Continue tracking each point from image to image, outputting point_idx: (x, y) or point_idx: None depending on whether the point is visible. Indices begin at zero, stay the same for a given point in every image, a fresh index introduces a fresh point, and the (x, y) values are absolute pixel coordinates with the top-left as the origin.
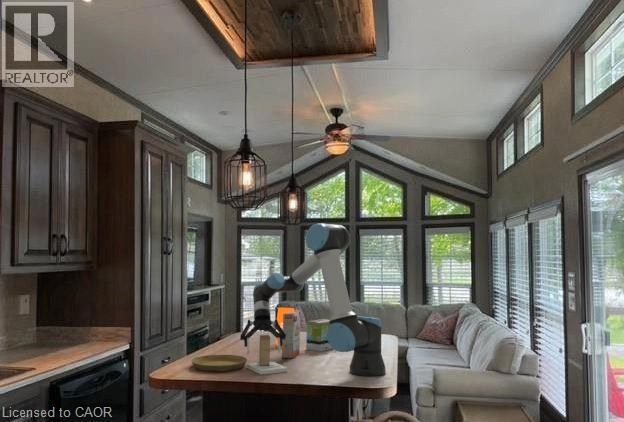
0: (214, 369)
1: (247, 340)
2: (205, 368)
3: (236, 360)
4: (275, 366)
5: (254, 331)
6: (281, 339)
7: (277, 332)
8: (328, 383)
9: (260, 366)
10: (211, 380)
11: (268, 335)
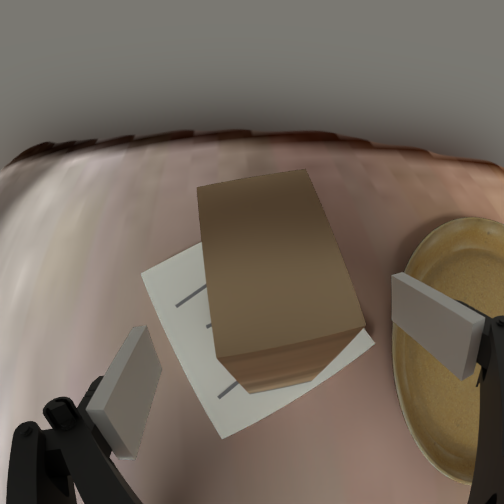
0: (469, 237)
1: (463, 306)
2: (496, 239)
3: (456, 463)
4: (199, 298)
5: (485, 462)
6: (81, 411)
7: (80, 475)
8: (69, 165)
9: None
10: (412, 154)
11: (220, 304)
